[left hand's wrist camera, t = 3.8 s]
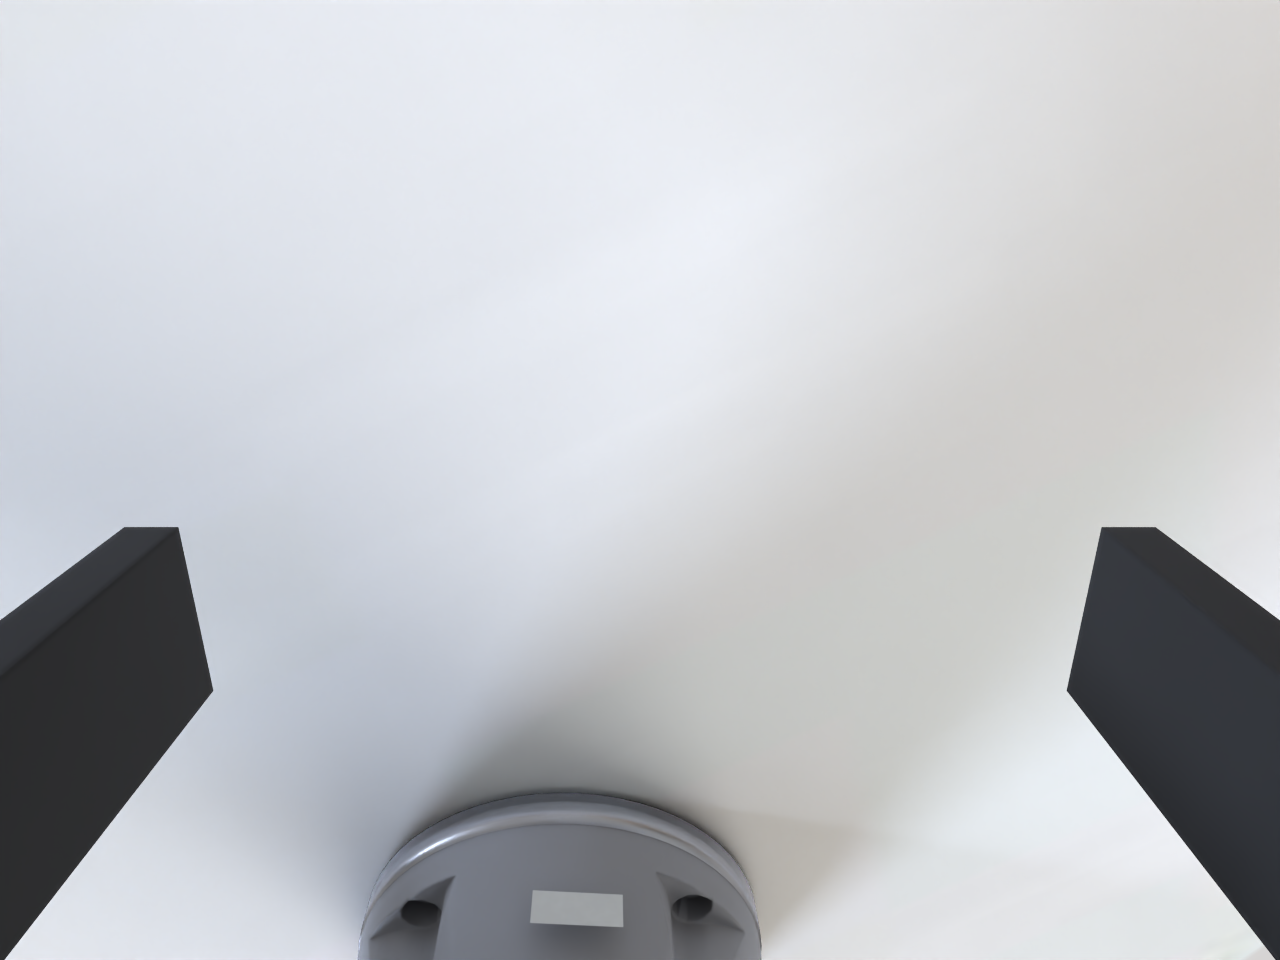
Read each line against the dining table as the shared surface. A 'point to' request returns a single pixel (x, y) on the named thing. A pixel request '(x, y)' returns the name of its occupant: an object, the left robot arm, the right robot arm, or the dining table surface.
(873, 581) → the dining table surface
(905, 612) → the dining table surface
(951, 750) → the dining table surface
